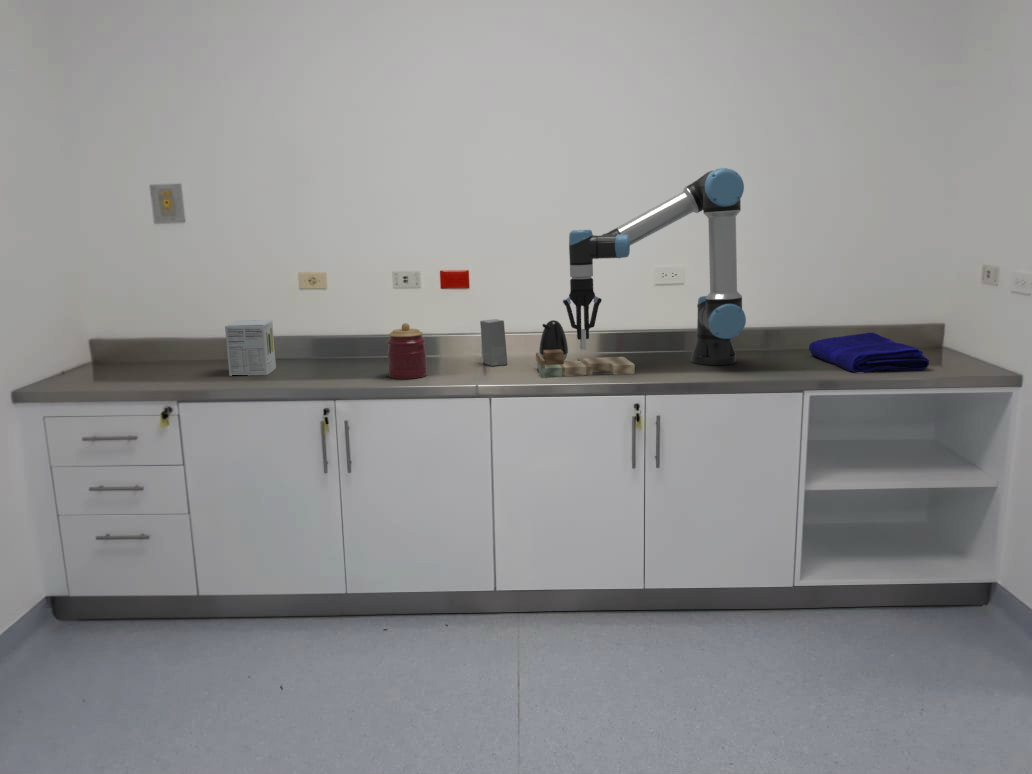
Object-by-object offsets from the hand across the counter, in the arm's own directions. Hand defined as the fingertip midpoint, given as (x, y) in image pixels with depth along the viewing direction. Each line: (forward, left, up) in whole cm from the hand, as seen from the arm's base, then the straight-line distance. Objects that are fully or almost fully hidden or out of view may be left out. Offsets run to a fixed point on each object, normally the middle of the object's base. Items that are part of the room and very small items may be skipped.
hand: (583, 348), depth 274 cm
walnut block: (+10, -1, -5) cm, 11 cm away
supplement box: (+113, -22, -8) cm, 115 cm away
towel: (-96, +4, -8) cm, 97 cm away
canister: (+59, -4, -8) cm, 59 cm away
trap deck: (0, 0, -8) cm, 8 cm away
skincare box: (+29, -20, -8) cm, 36 cm away
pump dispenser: (+8, -18, -8) cm, 21 cm away
